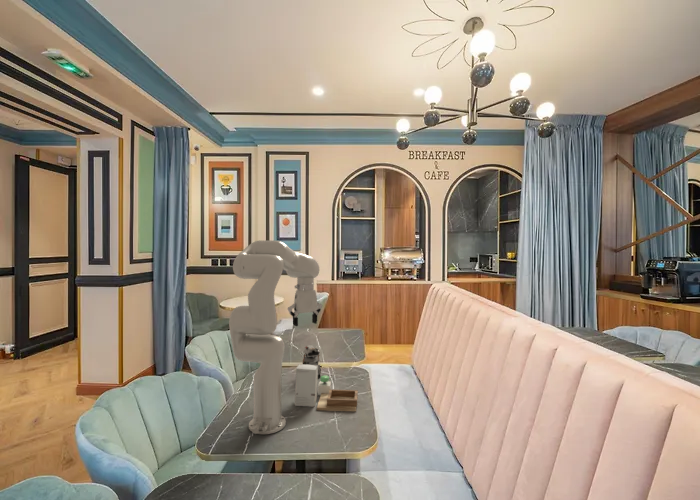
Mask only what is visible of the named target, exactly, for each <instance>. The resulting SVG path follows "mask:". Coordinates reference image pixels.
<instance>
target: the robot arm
mask: <svg viewBox="0 0 700 500" xmlns="http://www.w3.org/2000/svg"><path fill="white" fill-rule="evenodd" d="M232 264H233V265H232V270H233V271H232V272H233V274H234V275H235V277H236V278H239V279H244V280H247V279H248V280H256V281H255V283H254V284H253V285H252V286H251V288H250V289H249V291H248V294H247V303H248V305H239V306H236V307H235V308H233V309H232V311H231V312H230V315H229V321H228V326H229V333H230V334H229V335H230V340H231V345H232V352H233V355H234V357H235V358H236V360H238V361H240V362H248V363H249V362H250V363H258V364H260V366H259V367H258V368H257V369H256V371H254V375H253V418H252V419H251V420H250V421H249V422H248V430H249V431H250V432H252V433H253V434H255V435H270V434H274V433H278V432H280V431H281V430H282V429H284V428H285V427H286V425H287V424H286V423H287V421H286V418H285V417H284V416H283V415H282V389H283V388H282V387H283V386H282V384H283V383H282V379H283V378H282V373H283V372H282V371H283V369H282V368H283V359H284V354H285V347H286V346H285V342H284V340H283V338H282V337H280V336H278V335H275V334H273V333H274V332H275V331H276V330H277V325H278V320H277V312H276V311H277V310H276V304H275V291H276V288H277V285H278V283H279V281H280V278H281V276H282V274H283V271H284V272H286V274H287V276H288V277H290V278H294V279H295V278H297V279H296V282H297V283H296V285H294V289H296V290H295V293H294V301H293V303H292V304H291V305H290V306H289V307H287V310H288V313H289V315H290V316H291V317H292V324H293V326H295V327H298V326H299V318H298V315H299V314H307V313H312V315H311V316H312V319H311V322H312V323H313V324H315V325H316V324H317V323H318V315H319V313H320V312H321V310H322V308H323V304H321V303H319V302H318V298H317V291H316V289H314V285H315V283H314V280H315V278H317V277H318V275H319V274H320V265H319V263H318V261H317V260H316V259H315V258H314V257H312V256H310V255H307V254H304V253H300V252H297V251H295V250H293V249H292V248H290V247H289V246H288V244H286V243H285V242H283V241H280V240H255V241H254V242H253V241H252V242H251V243H250V244H248V245H247V246H246V247H245V248H244V249H243V250H242V251H240V252H239V253H238V254H237V255H236V257H235V259H234V260H233V263H232Z"/></svg>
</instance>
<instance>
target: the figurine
mask: <svg viewBox="0 0 700 500" xmlns="http://www.w3.org/2000/svg"><path fill="white" fill-rule="evenodd" d="M303 352H304V354H303V359H302V364H304V365H318V378H321V373H322V371H321V369H322V368H321V364H319V362H320V351H319V349H318V348H315V347H314V345H312V344H308V345H305V347H304V351H303Z"/></svg>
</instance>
